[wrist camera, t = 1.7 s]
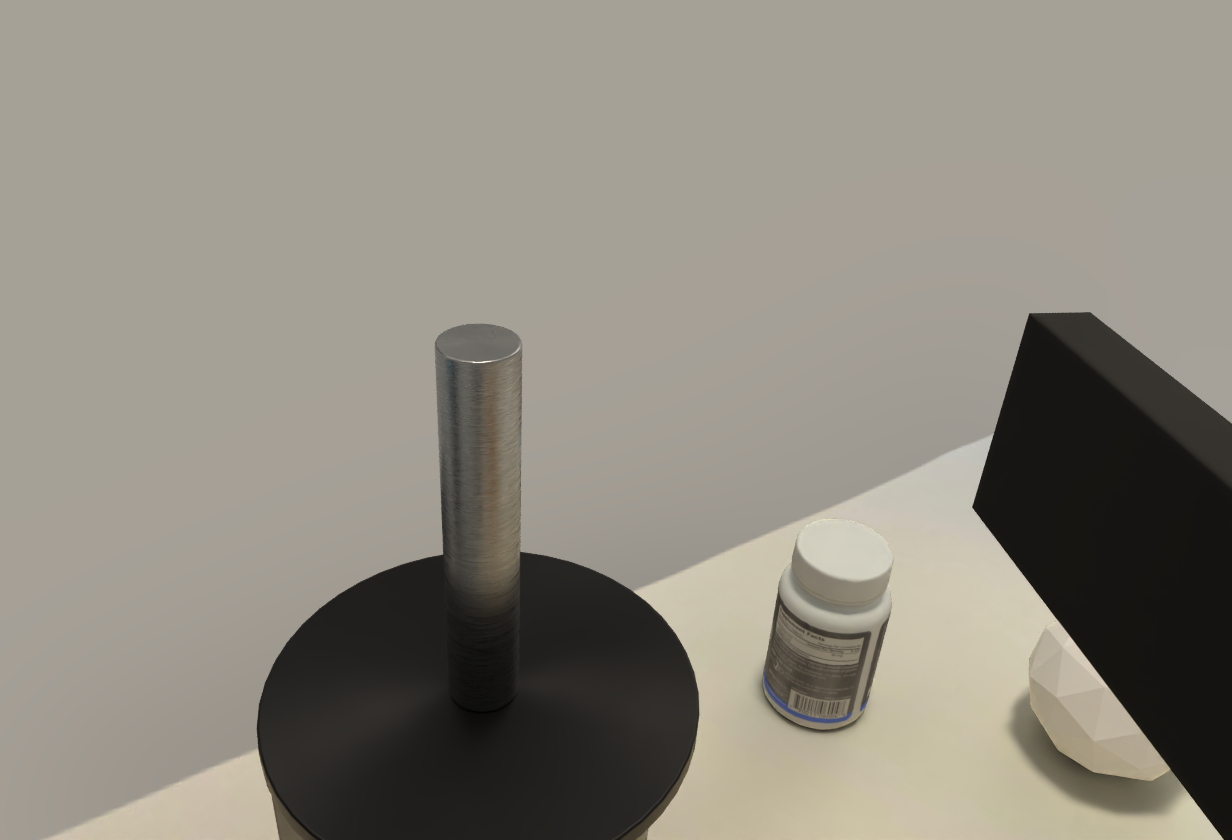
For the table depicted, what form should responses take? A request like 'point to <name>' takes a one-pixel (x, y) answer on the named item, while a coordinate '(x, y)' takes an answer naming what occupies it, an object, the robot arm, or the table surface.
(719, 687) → the table surface
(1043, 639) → the ornament
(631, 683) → the lid
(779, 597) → the pill bottle
